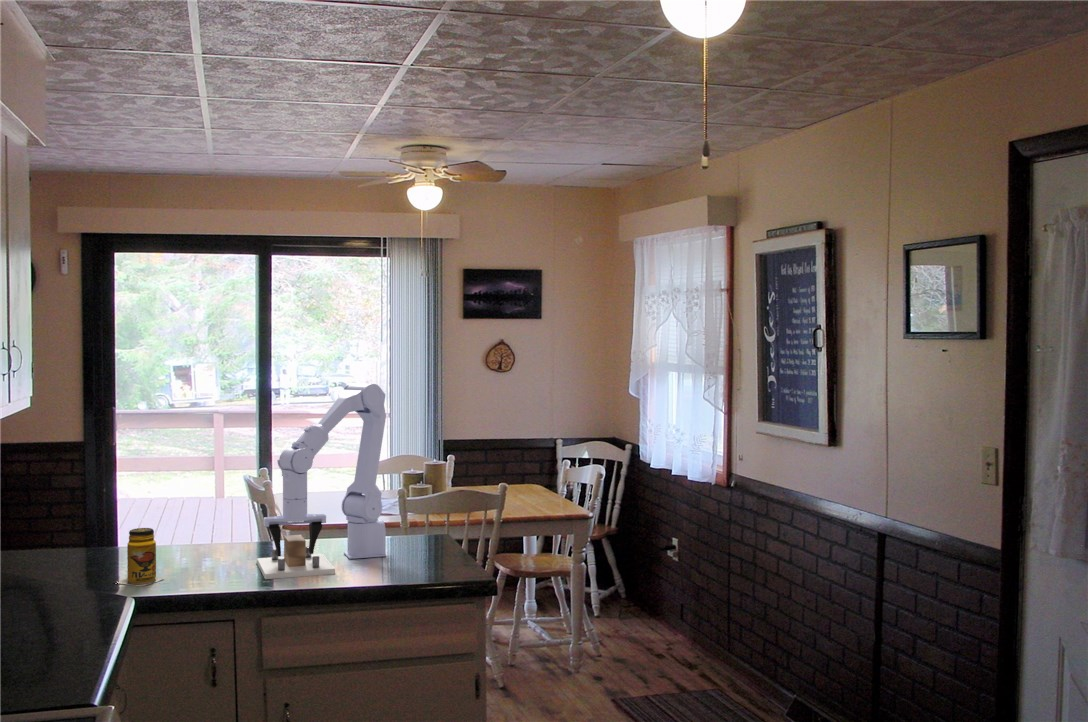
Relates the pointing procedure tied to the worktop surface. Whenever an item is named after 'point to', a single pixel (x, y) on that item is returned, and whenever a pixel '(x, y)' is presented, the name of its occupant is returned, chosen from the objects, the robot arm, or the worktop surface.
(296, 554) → the walnut block
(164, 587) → the worktop surface
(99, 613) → the worktop surface
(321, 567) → the plate
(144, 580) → the condiment
